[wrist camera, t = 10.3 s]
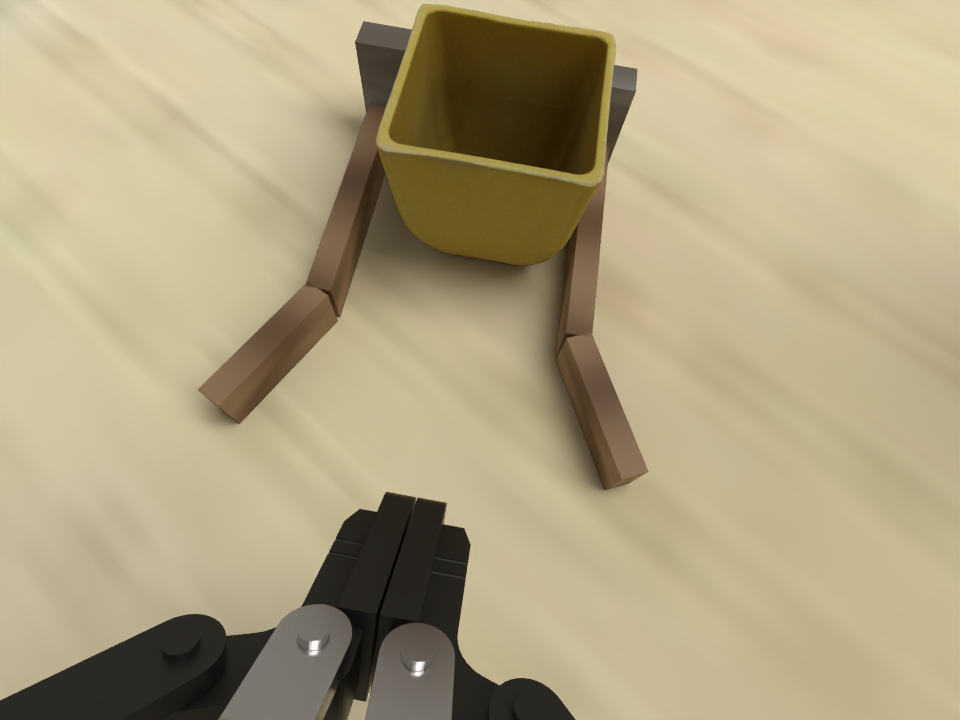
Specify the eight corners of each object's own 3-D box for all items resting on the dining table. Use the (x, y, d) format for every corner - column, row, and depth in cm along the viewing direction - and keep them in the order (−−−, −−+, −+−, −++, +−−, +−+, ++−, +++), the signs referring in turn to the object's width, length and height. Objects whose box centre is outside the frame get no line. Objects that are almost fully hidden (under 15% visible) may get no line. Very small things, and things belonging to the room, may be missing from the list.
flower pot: (391, 275, 28) (370, 143, 20) (426, 152, 32) (420, -3, 23) (556, 305, 28) (603, 185, 20) (572, 178, 32) (618, 32, 23)
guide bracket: (628, 494, 24) (682, 465, 19) (216, 419, 24) (150, 369, 19) (645, 165, 32) (687, 77, 27) (335, 110, 32) (313, 12, 27)
